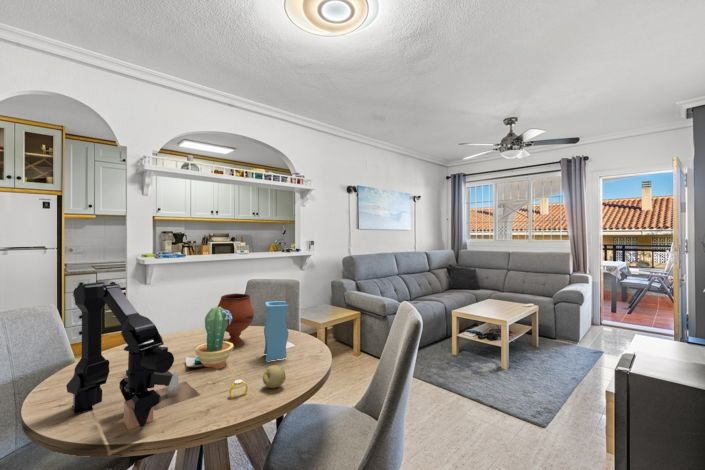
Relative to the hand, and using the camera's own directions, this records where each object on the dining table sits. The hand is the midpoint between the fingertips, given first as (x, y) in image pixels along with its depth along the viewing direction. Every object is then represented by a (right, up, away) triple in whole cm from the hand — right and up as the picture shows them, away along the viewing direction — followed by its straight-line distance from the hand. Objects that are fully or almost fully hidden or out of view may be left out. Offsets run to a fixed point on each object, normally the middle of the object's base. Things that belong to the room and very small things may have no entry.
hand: (138, 420), depth 93 cm
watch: (+23, -2, +16) cm, 29 cm away
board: (+1, -1, +16) cm, 16 cm away
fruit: (+34, -3, +25) cm, 42 cm away
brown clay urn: (+2, -2, +71) cm, 71 cm away
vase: (+27, -3, +54) cm, 60 cm away
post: (+1, 0, +16) cm, 16 cm away
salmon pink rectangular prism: (0, -1, 0) cm, 1 cm away
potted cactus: (+3, -2, +43) cm, 43 cm away
